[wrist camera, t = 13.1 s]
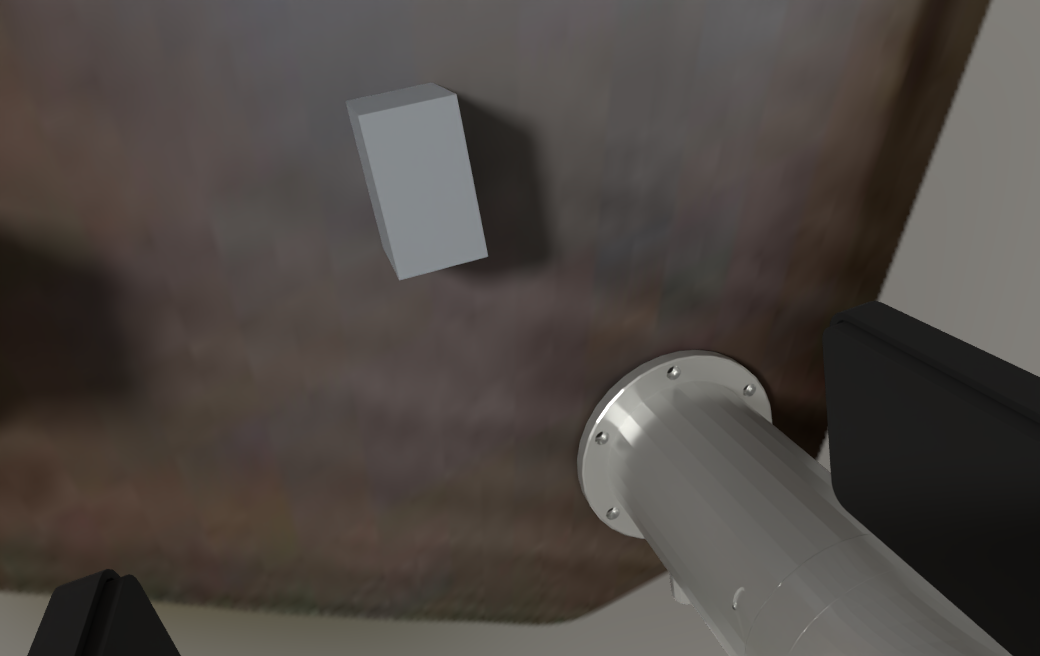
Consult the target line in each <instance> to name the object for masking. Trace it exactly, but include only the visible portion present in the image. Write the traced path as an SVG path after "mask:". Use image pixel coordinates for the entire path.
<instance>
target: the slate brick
mask: <svg viewBox="0 0 1040 656" xmlns="http://www.w3.org/2000/svg"><path fill="white" fill-rule="evenodd" d="M346 105H347V109H348V113H349V117H350V121H351V124H352V128H353V132H354V136H355V140H356V144H357V148H358V152H359V156H360V159H361V163H362V167H363V171H364V175H365V179H366V183H367V187H368V191H369V194H370V198H371V202H372V206H373V210H374V214H375V218H376V222H377V226H378V229H379V233H380V237H381V241H382V245H383V248H384V250H385V252H386V254H387V256H388V258H389V260H390V262H391V264H392V266H393V268H394V270H395V272H396V274H397V276H398V278H399V280H402V279H406V278H410V277H414V276H417V275H421V274H425V273H429V272H432V271H436V270H440V269H444V268H447V267H451V266H455V265H459V264H462V263H466V262H470V261H474V260H477V259H481V258H485V257H488V253H487V248H486V243H485V238H484V233H483V228H482V223H481V217H480V212H479V207H478V202H477V197H476V192H475V187H474V182H473V176H472V171H471V166H470V161H469V156H468V151H467V146H466V141H465V135H464V130H463V125H462V120H461V115H460V110H459V105H458V100H457V95H456V94H455V93H453V92H451V91H449V90H447V89H445V88H443V87H441V86H439V85H437V84H435V83H427V84H422V85H418V86H413V87H409V88H404V89H399V90H395V91H390V92H385V93H381V94H376V95H371V96H367V97H362V98H358V99H353V100H348V101H346Z"/></svg>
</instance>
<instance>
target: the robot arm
mask: <svg viewBox="0 0 1040 656" xmlns="http://www.w3.org/2000/svg"><path fill="white" fill-rule="evenodd" d="M823 356H824V372H825V388H826V403H827V419H828V435H829V449H830V466H831V473H830V472H829V471H828V470H827V469H825V468H824V467H823V466H822V465H821V464H819V463H818V462H817V461H816V460H815V459H813V458H812V457H811V456H810V455H809V454H807V453H806V452H805V451H804V450H803V449H801V448H800V447H799V446H798V445H797V444H795V443H794V442H793V441H792V440H791V439H789V438H788V437H787V436H786V435H785V434H783V433H782V432H781V431H780V430H779V429H777V428H776V427H775V426H774V425H773V424H772V414H771V407H770V403H769V400H768V397H767V395H766V392H765V390H764V388H763V387H762V385H761V384H760V382H759V381H758V379H757V378H756V377H755V376H754V375H753V374H752V373H751V372H749V371H748V370H747V369H746V368H745V367H744V366H742V365H741V364H739V363H738V362H736V361H735V360H733V359H732V358H730V357H727V356H725V355H722V354H719V353H717V352H712V351H704V350H686V351H678V352H674V353H670V354H666V355H662V356H659V357H657V358H655V359H653V360H651V361H648V362H646V363H644V364H642V365H640V366H639V367H637V368H636V369H634V370H633V371H631V372H630V373H628V374H627V375H625V376H624V377H623V378H622V379H621V380H620V381H619V382H617V383H616V384H615V385H614V386H613V387H612V388H611V389H610V390H609V391H608V392H607V393H606V395H605V396H604V397H603V398H602V400H601V401H600V402H599V403H598V405H597V406H596V408H595V409H594V411H593V413H592V415H591V416H590V418H589V420H588V422H587V424H586V426H585V429H584V432H583V435H582V437H581V440H580V444H579V451H578V457H577V468H578V479H579V482H580V486H581V489H582V492H583V494H584V496H585V498H586V499H587V501H588V503H589V505H590V506H591V508H592V509H593V510H594V512H595V513H596V514H597V516H598V517H599V519H601V520H602V521H603V522H604V523H605V524H607V525H608V526H609V527H610V528H612V529H614V530H616V531H618V532H620V533H622V534H624V535H628V536H632V537H636V538H641V539H646V540H647V542H648V543H649V545H650V546H651V547H652V549H653V550H654V552H655V553H656V554H657V556H658V557H659V559H660V560H661V561H662V563H663V564H664V566H665V567H666V568H667V570H668V571H669V573H670V583H671V592H672V596H673V598H674V599H675V600H676V601H678V602H679V603H682V604H692V605H693V606H694V608H695V609H696V611H697V612H698V613H699V615H700V616H701V618H702V619H703V620H704V622H705V623H706V625H707V626H708V627H709V629H710V630H711V631H712V633H713V634H714V636H715V637H716V638H717V640H718V641H719V643H720V644H721V646H722V647H723V648H724V650H725V651H726V652H727V654H728V655H729V656H1040V377H1038V376H1036V375H1034V374H1032V373H1030V372H1028V371H1026V370H1023V369H1021V368H1019V367H1017V366H1015V365H1013V364H1011V363H1009V362H1006V361H1004V360H1002V359H1000V358H998V357H996V356H994V355H992V354H989V353H987V352H985V351H983V350H981V349H979V348H977V347H975V346H973V345H970V344H968V343H966V342H964V341H962V340H960V339H958V338H955V337H953V336H951V335H949V334H947V333H945V332H942V331H941V330H939V329H937V328H934V327H932V326H930V325H928V324H926V323H924V322H922V321H919V320H917V319H915V318H913V317H911V316H909V315H907V314H904V313H903V312H900V311H898V310H896V309H894V308H892V307H890V306H888V305H886V304H884V303H881V302H878V301H872V302H868V303H865V304H862V305H859V306H856V307H854V308H851V309H848V310H845V311H842V312H839V313H836V314H835V315H834V316H833V317H832V319H831V322H830V327H828V328H827V329H825V330H824V333H823ZM27 656H181V655H180V654H179V652H178V650H177V648H176V647H175V645H174V643H173V641H172V640H171V638H170V636H169V634H168V632H167V631H166V629H165V627H164V625H163V624H162V622H161V620H160V618H159V616H158V615H157V613H156V611H155V609H154V608H153V606H152V604H151V602H150V600H149V599H148V597H147V595H146V593H145V592H144V590H143V588H142V586H141V585H140V583H139V582H138V580H137V579H136V578H135V577H134V576H133V575H126V576H123V577H120V576H119V575H118V574H117V573H116V572H115V571H114V570H111V569H106V570H103V571H100V572H98V573H95V574H92V575H89V576H86V577H83V578H80V579H78V580H75V581H72V582H69V583H66V584H63V585H61V586H59V587H57V588H56V589H55V591H54V592H53V594H52V596H51V598H50V601H49V604H48V606H47V608H46V611H45V613H44V616H43V618H42V621H41V623H40V626H39V628H38V631H37V633H36V636H35V638H34V641H33V643H32V645H31V648H30V650H29V653H28V655H27Z"/></svg>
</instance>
